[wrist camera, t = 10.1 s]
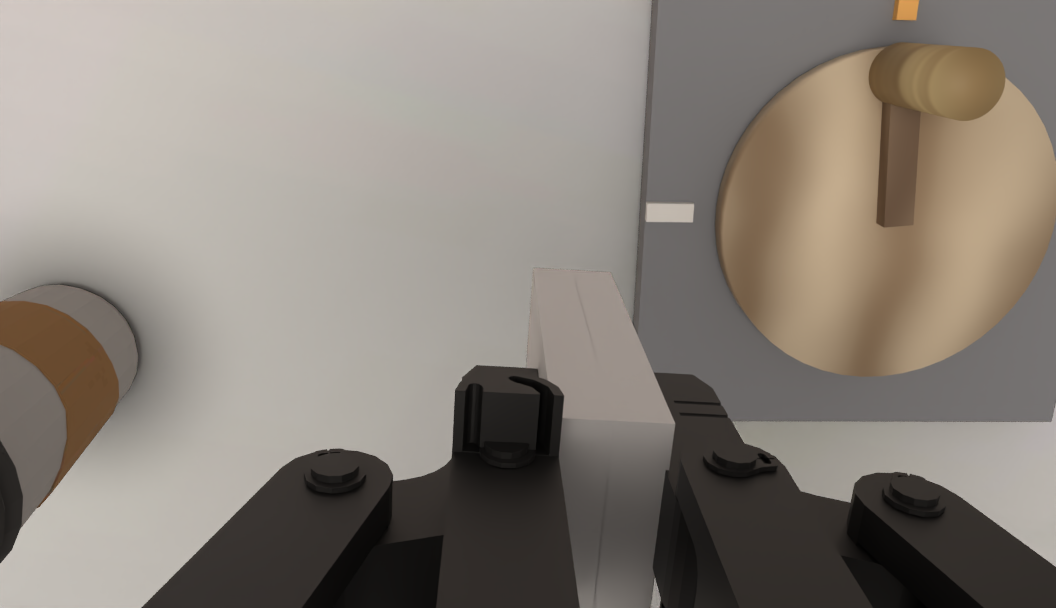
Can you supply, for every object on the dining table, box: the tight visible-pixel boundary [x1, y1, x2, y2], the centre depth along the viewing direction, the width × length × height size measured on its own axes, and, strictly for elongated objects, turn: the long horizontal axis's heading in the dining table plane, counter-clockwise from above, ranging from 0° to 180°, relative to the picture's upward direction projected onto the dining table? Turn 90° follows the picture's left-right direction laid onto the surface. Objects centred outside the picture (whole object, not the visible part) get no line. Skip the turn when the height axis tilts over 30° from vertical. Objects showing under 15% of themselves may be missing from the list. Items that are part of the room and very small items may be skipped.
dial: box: [715, 42, 1056, 377], centre depth 34 cm, size 14×14×7 cm
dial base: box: [633, 0, 1056, 422], centre depth 39 cm, size 20×20×2 cm
